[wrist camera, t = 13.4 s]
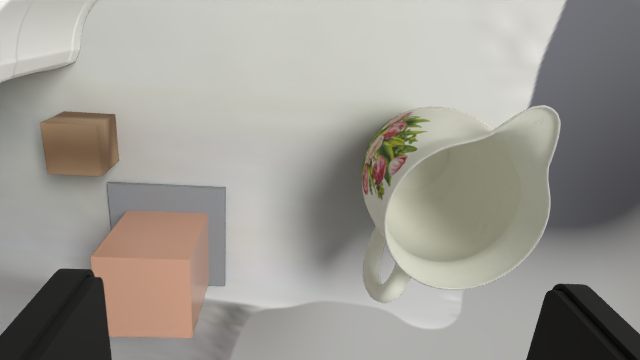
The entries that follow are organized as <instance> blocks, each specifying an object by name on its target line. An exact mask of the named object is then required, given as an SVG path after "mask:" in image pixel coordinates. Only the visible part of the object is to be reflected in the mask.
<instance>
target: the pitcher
mask: <svg viewBox="0 0 640 360" xmlns="http://www.w3.org/2000/svg"><path fill="white" fill-rule="evenodd" d="M560 123H561V122H560V119H559V116H558V113H557V112H556V111H555V110H554V109H552V108H550V107H547V106H545V105H542V106H534V107H531V108H529V109H527V110H525V111H523V112H521V113H519V114H517V115H515V116H514V117H512V118H511V119H509V120H508V121H506V122H505V123H503V124H502V125H500V126H499V127H497V128H496V129H494V130H493V129H492V128H491V127H490V126H488V125H487V124H485V123H484V122H482V121H481V120H479V119H477V118H475V117H473V116H471V115H469V114H467V113H464V112H461V111H458V110H454V109H449V108H443V107H425V108H418V109H413V110H410V111H407V112H405V113H402V114H400V115H398V116H396V117H395V118H393V119H392V120H390V121H389V122H387V123H386V124H385V125H384V126H383V127H382V128H381V129H380V130H379V131H378V132H377V134H376V135H375V137H374V138H373V139H372V141H371V143H370V145H369V147H368V149H367V152H366V154H365V158H364V162H363V166H362V190H363V195H364V200H365V204H366V206H367V209H368V212H369V214H370V216H371V218H372V220H373V222H374V223H375V225H376V226H375V228H374V230H373V233H372V235H371V238H370V240H369V243H368V246H367V250H366V253H365V258H364V263H363V279H364V284H365V287H366V290H367V291H368V293H369V295H370V296H371V297H372V298H373V299H374V300H376V301H379V302H382V303H389V302H392V301H394V300H395V299H397V298H398V297H399V296H400V295H401V293H402V292H403V291H404V289H405V288H406V286H407V284H408V282H409V280H410V278H413V279H414V280H416V281H418V282H420V283H422V284H425V285H427V286H430V287H434V288H438V289H445V290H464V289H471V288H476V287H480V286H483V285H486V284H489V283H491V282H493V281H495V280H498V279H500V278H501V277H503V276H504V275H506V274H508V273H509V272H510V271H512V270H513V269H515V268H516V267H517V266H518V265H519V264H520V263H521V262H523V261H524V260H525V258H526V257H527V256H528V255H529V254H530V253H531V251H532V250H533V249H534V247H535V246H536V245H537V243H538V241H539V240H540V238H541V236H542V234H543V232H544V230H545V227H546V224H547V221H548V218H549V212H550V191H549V183H548V170H549V164H550V162H551V160H552V157H553V154H554V151H555V149H556V145H557V141H558V138H559V132H560ZM385 243H387V246H388V249H389V252H390V254H391V255H392V257H393V259H394V261H395V262H396V265H395V267H394V269H393V271H392V273H391V275H390V277H389V278H388V280H387V281H386V282H385V283H384V284H383V285H382V284H381V281H380V276H379V265H380V260H381V255H382V252H383V249H384V245H385Z"/></svg>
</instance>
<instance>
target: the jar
mask: <svg viewBox="0 0 640 360" xmlns="http://www.w3.org/2000/svg"><path fill="white" fill-rule="evenodd" d="M95 1H96V0H0V83H2V82H4V81H6V80H9V79H13V78H17V77H21V76H24V75H28V74H32V73H36V72H40V71H48V70H53V69H56V68H60V67H63V66H66V65H69V64H71V63H73V62H75V61H76V59H77V56H78V53H79V51H80V38H81V32H82V28H83V24H84V21H85V19H86V16H87V14H88V12H89V10H90V9H91V7H92V5H93V4H94V2H95Z"/></svg>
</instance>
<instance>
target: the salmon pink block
mask: <svg viewBox="0 0 640 360" xmlns="http://www.w3.org/2000/svg"><path fill="white" fill-rule="evenodd" d="M91 265H92V271H93V273H94V275H95V277H101V278H102V280H103V284H104V292H105V302H106V311H107V321H108V330H109V337H171V338H193V334H194V331H195V328H196V324H197V321H198V317H199V314H200V310H201V307H202V304H203V300H204V297H205V293H206V290H207V286H208V283H209V242H208V213H181V212H154V211H126V213H125V214H124V215H123V217H122V218H121V219H120V220H119V222H118V223H117V224H116V225H115V227H114V228H113V229H112V230H111V232H110V233H109V234H108V235H107V237H106V238H105V239H104V241H103V242H102V243H101V244H100V246H99V247H98V248H97V249H96V251H95V252H94V253H93V254H92V256H91Z"/></svg>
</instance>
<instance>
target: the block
mask: <svg viewBox="0 0 640 360" xmlns="http://www.w3.org/2000/svg"><path fill="white" fill-rule="evenodd" d="M40 125H41V132H42V139H43V146H44V153H45V160H46V167H47V174H61V175H83V176H102V175H104V174H105V173H106V172H107V171H108V170H109V169H110V168H111V167H112V166H113V165H115V164H116V163H117V162H118V161H119V154H118V142H117V130H116V118H115V114H100V113H83V112H62V113H60V114H58V115H56V116H54V117H52V118H50V119H48V120H45V121H43V122H41V123H40Z"/></svg>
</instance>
